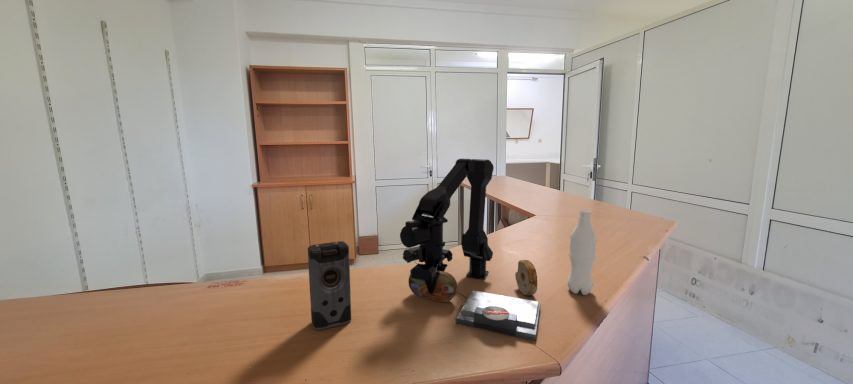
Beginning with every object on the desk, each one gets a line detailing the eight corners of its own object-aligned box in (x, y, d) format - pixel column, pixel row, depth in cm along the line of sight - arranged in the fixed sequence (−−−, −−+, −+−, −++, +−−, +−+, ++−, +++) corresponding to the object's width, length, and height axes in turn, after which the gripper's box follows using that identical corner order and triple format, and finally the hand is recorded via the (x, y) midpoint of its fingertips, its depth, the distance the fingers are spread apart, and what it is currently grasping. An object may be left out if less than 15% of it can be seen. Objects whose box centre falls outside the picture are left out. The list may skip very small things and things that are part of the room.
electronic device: (314, 332, 79) (310, 252, 76) (310, 320, 84) (306, 245, 81) (352, 322, 83) (350, 246, 80) (347, 312, 88) (344, 240, 86)
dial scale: (472, 296, 97) (472, 282, 97) (539, 308, 90) (540, 293, 89) (453, 327, 81) (454, 310, 80) (534, 345, 74) (535, 326, 73)
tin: (408, 294, 99) (407, 267, 98) (413, 290, 102) (413, 264, 100) (454, 305, 92) (454, 277, 91) (458, 301, 95) (459, 273, 93)
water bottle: (566, 294, 99) (572, 212, 95) (566, 285, 105) (571, 208, 102) (593, 298, 96) (600, 214, 93) (591, 288, 103) (597, 210, 99)
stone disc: (539, 300, 95) (541, 267, 94) (526, 301, 95) (528, 267, 93) (525, 285, 105) (526, 255, 104) (514, 285, 105) (515, 255, 104)
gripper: (420, 229, 106) (420, 275, 108) (392, 245, 89) (393, 300, 91) (453, 232, 101) (452, 280, 104) (430, 250, 84) (430, 307, 87)
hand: (432, 291), depth 96 cm, fingers closed on tin, 3 cm apart
